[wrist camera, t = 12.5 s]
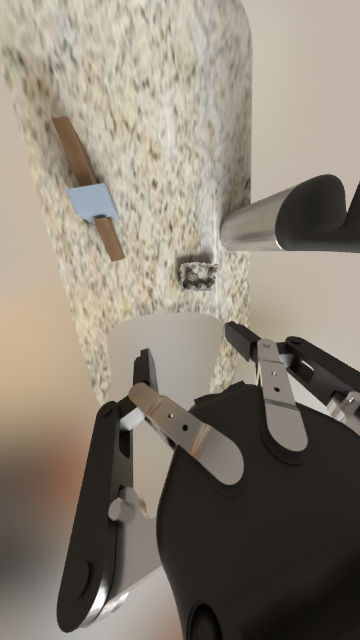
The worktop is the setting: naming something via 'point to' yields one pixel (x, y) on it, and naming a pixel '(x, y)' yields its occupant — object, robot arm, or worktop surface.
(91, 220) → the notched block
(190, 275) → the egg carton
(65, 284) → the worktop surface
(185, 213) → the worktop surface
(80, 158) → the slotted plate
